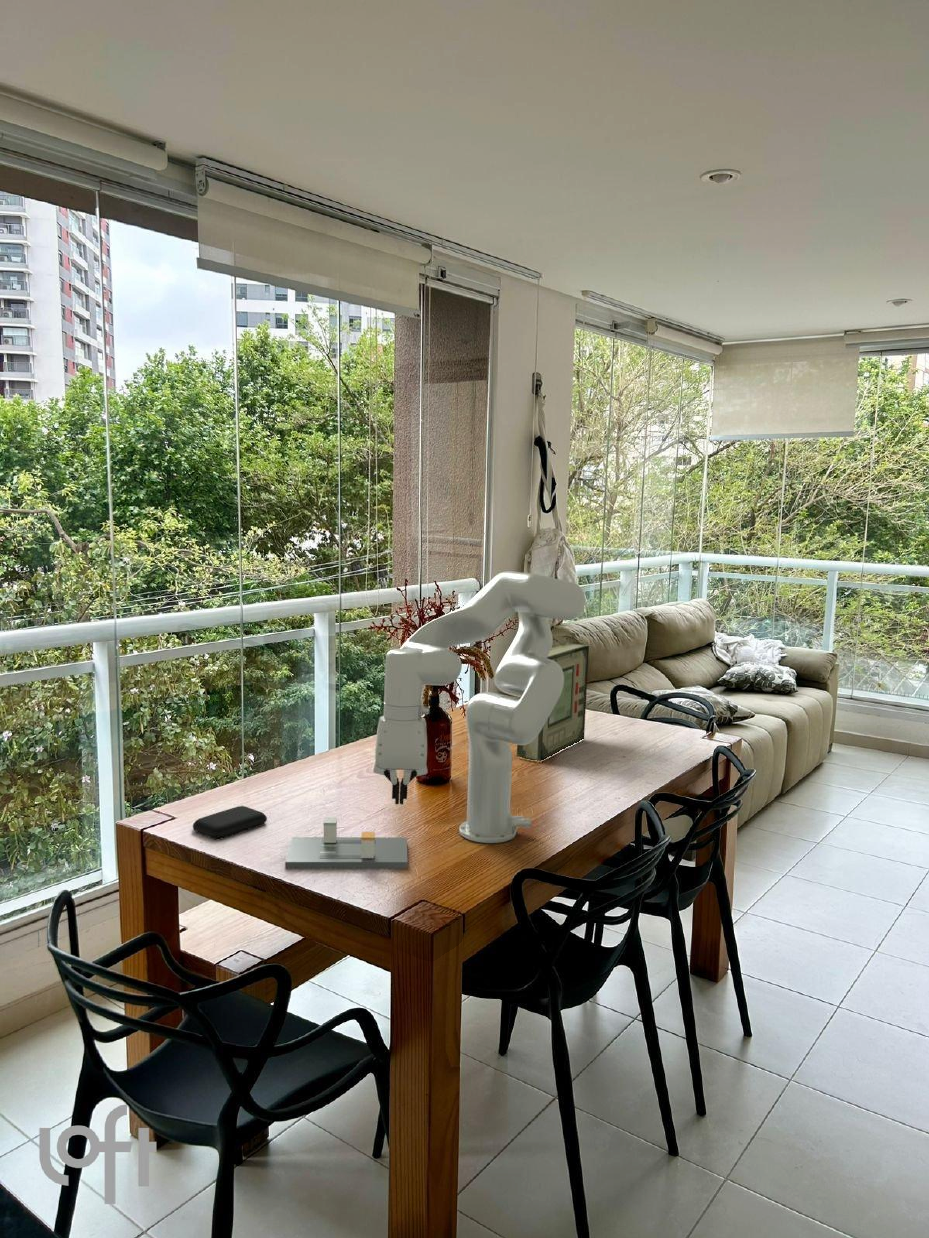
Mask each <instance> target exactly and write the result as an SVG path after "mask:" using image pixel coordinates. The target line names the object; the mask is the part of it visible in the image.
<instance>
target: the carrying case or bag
mask: <svg viewBox="0 0 929 1238" xmlns="http://www.w3.org/2000/svg"><path fill="white" fill-rule="evenodd" d="M267 820H268V817H267V815H265V813H264V812H261V811H259V810H256V809H253V808H252V807H251V808H250V807H248V806H245V805H239V806H235V807H232V808H229V809H226V810H222V811H219V812H215V813H212V814H209V815H206V816H202V817H200V818H198V819H196V820H195V821H194V823H193V824H192V828H193V830H194V831H195V832H196V833H198V834H201V835H202V836H205V835H206V837H208V838H211V839H213V840H217V839H219V840H222V838H223V839H227V838H229V837H232V836H235V835H238V834H241V833H244V832H247V831H249V830H252V829H256V828H258V827H261V826H264V825H265V823H266V822H267Z"/></svg>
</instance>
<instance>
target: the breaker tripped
mask: <svg viewBox="0 0 929 1238" xmlns="http://www.w3.org/2000/svg"><path fill="white" fill-rule="evenodd" d="M375 837H376V832H375V831H361V840H362V843H361V858H374V840H375Z"/></svg>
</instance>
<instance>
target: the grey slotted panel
mask: <svg viewBox="0 0 929 1238" xmlns="http://www.w3.org/2000/svg"><path fill="white" fill-rule="evenodd" d="M361 843H362V840H361V837H358V836H356V837H355V836H353V837H352V836H351V837H349V836H348V837H347V836H345V837H344V836H342V837H340V836H339V837H337V838H336V843H324V836H316V837H315V836H312V837H310V836H292V838H291V841H290V845H289V849H288V851H287V855H286V858H285V861H284V870H408V838H407V837H391V836H390V837H389V836H388V837H382V836H381V837H376V836H375V840H374V858H361Z"/></svg>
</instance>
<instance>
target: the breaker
mask: <svg viewBox="0 0 929 1238" xmlns="http://www.w3.org/2000/svg"><path fill="white" fill-rule="evenodd" d="M337 833H338V817H328V816H327V817H326V816H325V817H324V819H323V837H324V843H336V838H337V836H338V834H337Z"/></svg>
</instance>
